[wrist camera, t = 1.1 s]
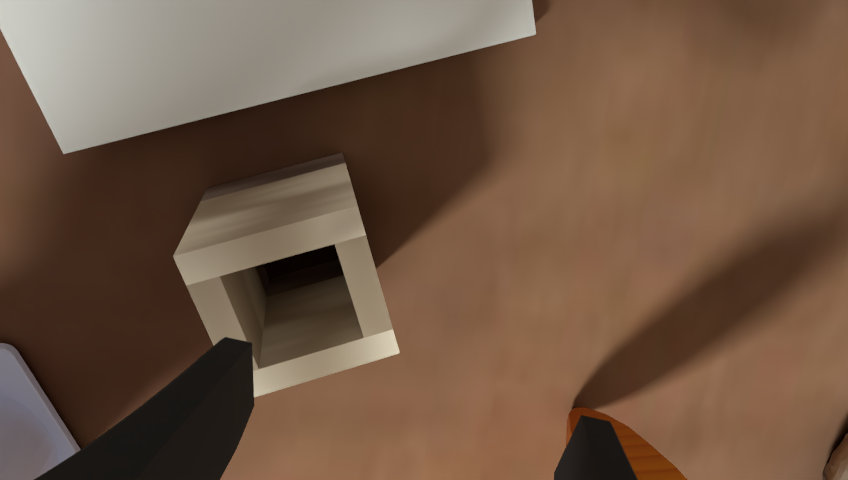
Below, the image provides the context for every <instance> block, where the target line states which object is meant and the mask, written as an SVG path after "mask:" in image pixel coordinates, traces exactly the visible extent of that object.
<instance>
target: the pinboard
mask: <svg viewBox="0 0 848 480" xmlns="http://www.w3.org/2000/svg"><path fill="white" fill-rule="evenodd" d="M0 29H1V31H2V33H3V35H4V37H5V39H6V41H7V43H8V45H9V47H10V49H11V51H12V53H13V55H14V57H15V59H16V61H17V63H18V65H19V67H20V69H21V71H22V73H23V75H24V77H25V79H26V81H27V83H28V85H29V87H30V89H31V91H32V93H33V95H34V97H35V99H36V101H37V102H38V104H39V106H40V108H41V110H42V112H43V114H44V116H45V118H46V120H47V122H48V124H49V126H50V128H51V130H52V132H53V134H54V136H55V138H56V140H57V142H58V144H59V146H60V148H61V150H62V152H63V154H66V153H70V152H74V151H78V150H82V149H86V148H90V147H94V146H98V145H102V144H106V143H110V142H114V141H118V140H122V139H126V138H129V137H133V136H137V135H141V134H145V133H149V132H153V131H157V130H161V129H165V128H169V127H173V126H177V125H181V124H185V123H189V122H193V121H197V120H201V119H204V118H208V117H212V116H216V115H220V114H224V113H228V112H232V111H236V110H240V109H244V108H248V107H252V106H256V105H260V104H264V103H268V102H272V101H276V100H280V99H283V98H287V97H291V96H295V95H299V94H303V93H307V92H311V91H315V90H319V89H323V88H327V87H331V86H335V85H339V84H343V83H347V82H351V81H355V80H358V79H362V78H366V77H370V76H374V75H378V74H382V73H386V72H390V71H394V70H398V69H402V68H406V67H410V66H414V65H418V64H422V63H426V62H430V61H434V60H437V59H441V58H445V57H449V56H453V55H457V54H461V53H465V52H469V51H473V50H477V49H481V48H485V47H489V46H493V45H497V44H501V43H505V42H509V41H512V40H516V39H520V38H524V37H528V36H532V35H536V29H535V21H534V13H533V5H532V0H0Z"/></svg>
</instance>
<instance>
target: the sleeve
mask: <svg viewBox="0 0 848 480" xmlns="http://www.w3.org/2000/svg"><path fill="white" fill-rule="evenodd" d="M333 244H335V247H336V250H337V254H338V257H339V259H338V260H334V261H330V262H327V263H323V264H320V265H316V266H313V267H309V268H306V269H302V270H299V271H295V272H292V273H288V274H285V275H281V276H278V277H274V278H271V279H269V278H268V275H267V273H266V270H265V267H264V265H263V264H265V263H269V262H272V261H276V260H279V259H283V258H286V257H290V256H293V255H297V254H301V253H304V252H308V251H311V250H315V249H318V248H322V247H325V246H329V245H333ZM173 258H174V260H175V262H176V264H177V267H178V269H179V271H180V273H181V275H182V278H183V280H184V282H185V284H186V286H187V289H188V291H189V293H190V295H191V297H192V300H193V302H194V304H195V306H196V308H197V311H198V313H199V315H200V317H201V319H202V321H203V324H204V326H205V328H206V330H207V332H208V335H209V337H210V339H211V341H212V343H213V346H214V345H215V344H216V343H217V342H219V341H220V340H221V339H223V338H224V337H228V338H232V339H237V340H242V341H246V342H251V343H252V350H253V383H254V397H257V396H260V395H264V394H267V393H270V392H274V391H277V390H280V389H283V388H287V387H290V386H293V385H297V384H300V383H303V382H307V381H310V380H313V379H316V378H320V377H323V376H326V375H330V374H333V373H336V372H340V371H343V370H346V369H349V368H353V367H356V366H359V365H363V364H366V363H369V362H372V361H376V360H379V359H382V358H386V357H389V356H392V355H396V354H399V349H398V345H397V342H396V338H395V335H394V331H393V328H392V324H391V321H390V317H389V314H388V310H387V307H386V303H385V300H384V296H383V293H382V289H381V286H380V282H379V279H378V275H377V272H376V268H375V265H374V261H373V257H372V254H371V250H370V247H369V243H368V240H367V236H366V233H365V229H364V226H363V222H362V219H361V215H360V212H359V208H358V205H357V201H356V198H355V194H354V191H353V187H352V184H351V180H350V177H349V173H348V170H347V166H346V163H345V159H344V156H343V152H342V153H338V154H334V155H330V156H327V157H323V158H319V159H315V160H312V161H308V162H304V163H300V164H296V165H293V166H289V167H285V168H281V169H278V170H274V171H270V172H266V173H263V174H259V175H255V176H251V177H247V178H244V179H240V180H236V181H232V182H229V183H225V184H221V185H217V186H214V187H210V188H207V189H206V191H205V193H204V195H203V197H202V199H201V201H200V203H199V205H198V207H197V209H196V211H195V213H194V215H193V217H192V219H191V221H190V223H189V225H188V227H187V229H186V231H185V233H184V235H183V237H182V239H181V241H180V243H179V245H178V247H177V249H176V251H175V253H174V255H173Z"/></svg>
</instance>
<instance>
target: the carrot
mask: <svg viewBox="0 0 848 480" xmlns="http://www.w3.org/2000/svg"><path fill="white" fill-rule="evenodd" d="M581 415H584V416H588V417H593V418H597V419H602V420H606V421H610V422H611V424H612V425H613V427H614V429H615V432H616V434H617V436H618V438H619V440H620V443H621V445H622V447H623V449H624V451H625V454H626V456H627V458H628V460H629V462H630V464H631V466H632V468H633V470H634V473H635V475H636V477H637V479H638V480H687V479H686V478H685V477H684V476H683V475H682V473H681V472H680V471H679V470H678V469H677V468H676V467H675V466H674V465H673V464H672V463H670V462H669V461H668V460H667V459H666V458H665V457H664V456H663V455H661V454H660V453H659V452H658V451H657V450H656V449H655V448H654V447H652V446H651V445H650V444H649V443H648V442H646V441H645V440H644V439H643V438H642V437H640V436H639V435H638V434H637V433H635V432H634V431H633V430H632V429H630V428H629V427H628V426H626V425H624V424H623V423H621V422H619V421H617V420H615V419H613V418H612V417H610V416H608V415H606V414H603V413H600V412H598V411H595V410H592V409H589V408H586V407H578V408H573V409H572V410H571V412H570V413H569V415H568V420H567V436H566V446H567V444H568V442H569V440H570V438H571V436H572V433H573V431H574V429H575V427H576V425H577V423H578V420H579V418H580V416H581Z"/></svg>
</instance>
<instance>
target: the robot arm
mask: <svg viewBox="0 0 848 480" xmlns="http://www.w3.org/2000/svg"><path fill="white" fill-rule="evenodd" d="M253 407H254V383H253V350H252V343H251V342H246V341H242V340H237V339H232V338H228V337H224V338H223V339H221V340H220V341H219V342H217V343H216V344H215V345H214V346H213V347H212V348H211V349H209V350H208V351H207V352H206V353H205V354H204V355H202V356H201V357H200V358H199V359H198V360H197V361H196V362H194V363H193V364H192V365H191V366H190V367H189V368H187V369H186V370H185V371H184V372H183V373H181V374H180V375H179V376H178V377H177V378H175V379H174V380H173V381H172V382H171V383H169V384H168V385H167V386H166V387H164V388H163V389H162V390H161V391H159V392H158V393H157V394H156V395H154V396H153V397H152V398H151V399H149V400H148V401H147V402H146V403H144V404H143V405H142V406H141V407H139V408H138V409H137V410H135V411H134V412H133V413H131V414H130V415H129V416H127V417H126V418H124V419H123V420H122V421H120V422H119V423H118V424H116V425H115V426H114V427H112V428H111V429H109V430H108V431H107V432H105V433H104V434H103V435H101V436H100V437H98V438H97V439H96V440H94V441H93V442H91V443H90V444H88V445H87V446H85V447H84V448H82V449H80V448H79V446H78V445H77V443H76V441H75V440H74V438H73V437H72V435H71V434H70V432H69V431H68V429H67V427H66V426H65V424H64V423H63V421H62V420H61V418H60V416H59V415H58V413H57V412H56V410H55V409H54V407H53V405H52V404H51V402H50V401H49V399H48V398H47V396H46V395H45V393H44V391H43V390H42V388H41V387H40V385H39V384H38V382H37V380H36V379H35V377H34V376H33V374H32V373H31V371H30V370H29V368H28V366H27V365H26V363H25V362H24V360H23V359H22V357H21V355H20V354H19V352H18V351H17V350H16V349H15V348H14V347H13V346H11V345H9V344H5V343H0V480H220V478H221V476H222V474H223V472H224V471H225V469H226V467H227V465H228V463H229V462H230V460H231V458H232V456H233V454H234V452H235V450H236V448H237V446H238V444H239V441H240V439H241V437H242V434H243V432H244V429H245V427H246V424H247V422H248V419H249V417H250V414H251V412H252V409H253ZM554 480H638V479H637V477H636V475H635V473H634V470H633V468H632V466H631V464H630V462H629V460H628V458H627V456H626V454H625V451H624V449H623V447H622V445H621V443H620V440H619V438H618V436H617V434H616V432H615V429H614V427H613V425H612V424H611V422H610V421H606V420H602V419H597V418H593V417H588V416H584V415H581V416H580V418H579V420H578V423H577V425H576V427H575V429H574V431H573V433H572V436H571V438H570V440H569V442H568V444H567V446H566V449H565V451H564V453H563V455H562V457H561V459H560V461H559V464H558V466H557V468H556V470H555V472H554Z"/></svg>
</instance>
